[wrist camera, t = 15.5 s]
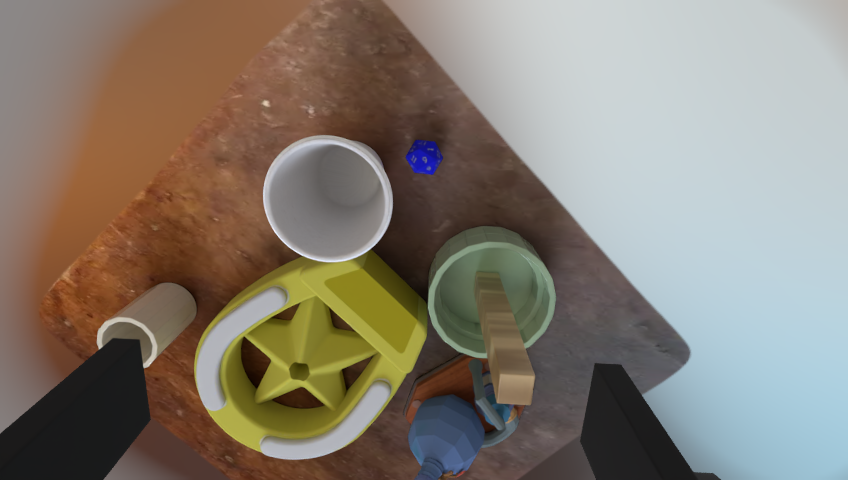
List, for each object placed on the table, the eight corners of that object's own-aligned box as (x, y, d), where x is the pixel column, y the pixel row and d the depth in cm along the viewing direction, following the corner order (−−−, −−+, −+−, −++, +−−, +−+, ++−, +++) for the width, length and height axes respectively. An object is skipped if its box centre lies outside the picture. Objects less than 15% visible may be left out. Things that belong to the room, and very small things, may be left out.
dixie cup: (389, 232, 43) (378, 275, 34) (293, 211, 43) (253, 248, 33) (411, 136, 41) (405, 153, 31) (309, 112, 40) (271, 121, 31)
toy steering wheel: (458, 332, 46) (461, 361, 41) (305, 461, 50) (293, 500, 46) (326, 206, 43) (313, 221, 38) (175, 355, 47) (146, 386, 42)
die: (408, 171, 42) (396, 156, 39) (424, 145, 42) (413, 128, 39) (434, 185, 41) (424, 170, 38) (451, 158, 41) (442, 141, 38)
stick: (475, 271, 44) (500, 373, 28) (498, 272, 44) (535, 375, 28) (473, 292, 44) (496, 403, 29) (496, 293, 44) (531, 405, 29)
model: (441, 461, 50) (444, 542, 42) (387, 395, 48) (378, 466, 39) (546, 404, 48) (572, 476, 39) (494, 332, 46) (509, 392, 37)
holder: (142, 280, 45) (92, 315, 38) (195, 284, 45) (154, 319, 38) (148, 327, 46) (100, 368, 40) (199, 330, 46) (160, 372, 40)
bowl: (432, 220, 43) (432, 238, 38) (549, 228, 43) (564, 246, 38) (424, 326, 46) (424, 354, 41) (534, 333, 46) (546, 362, 41)
